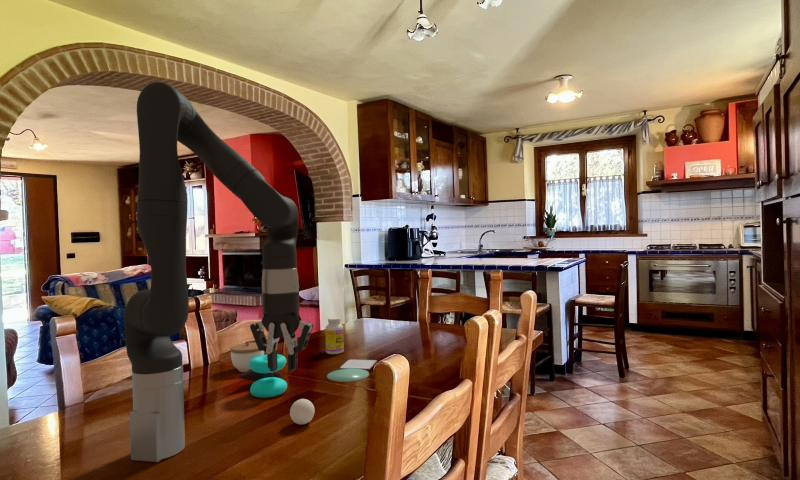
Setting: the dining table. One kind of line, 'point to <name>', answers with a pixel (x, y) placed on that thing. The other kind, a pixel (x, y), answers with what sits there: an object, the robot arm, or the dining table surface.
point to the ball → (302, 411)
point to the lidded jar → (244, 355)
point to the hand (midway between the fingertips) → (283, 370)
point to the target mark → (348, 375)
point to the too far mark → (358, 364)
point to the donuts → (267, 385)
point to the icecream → (258, 375)
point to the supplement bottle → (334, 336)
